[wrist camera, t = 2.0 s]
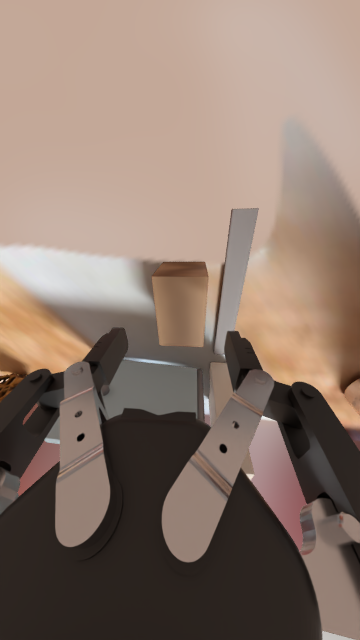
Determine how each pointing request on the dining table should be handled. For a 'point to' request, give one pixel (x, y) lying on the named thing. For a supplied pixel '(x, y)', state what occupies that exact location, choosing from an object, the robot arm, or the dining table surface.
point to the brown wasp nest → (9, 384)
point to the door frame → (231, 311)
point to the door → (150, 391)
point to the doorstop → (180, 303)
